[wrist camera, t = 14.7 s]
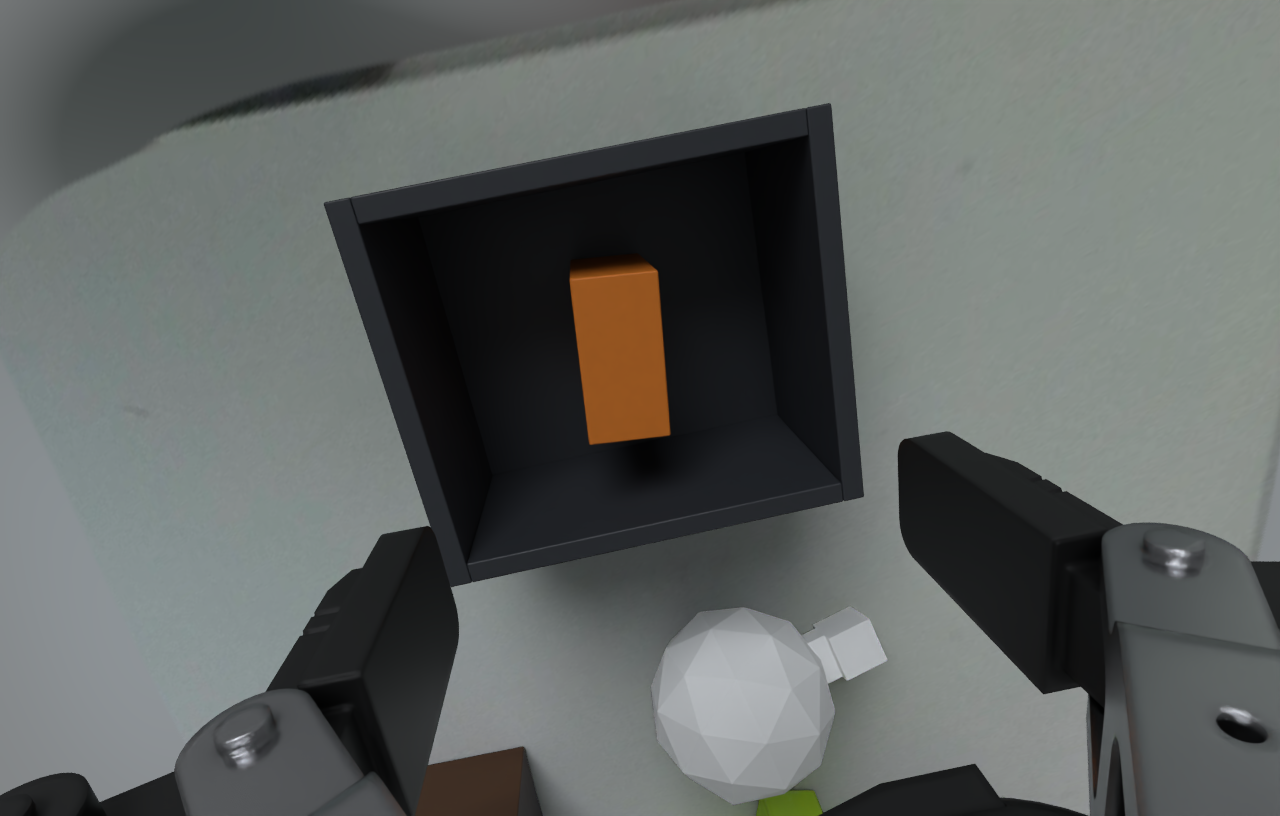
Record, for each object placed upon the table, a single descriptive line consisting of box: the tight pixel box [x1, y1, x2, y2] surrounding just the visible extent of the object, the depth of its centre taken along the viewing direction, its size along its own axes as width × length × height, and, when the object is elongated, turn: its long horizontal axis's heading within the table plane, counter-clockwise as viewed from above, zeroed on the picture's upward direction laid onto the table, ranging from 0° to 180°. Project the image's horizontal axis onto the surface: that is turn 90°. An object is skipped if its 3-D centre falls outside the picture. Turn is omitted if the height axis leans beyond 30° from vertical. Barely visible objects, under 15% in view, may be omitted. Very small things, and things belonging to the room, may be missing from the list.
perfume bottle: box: [651, 606, 888, 805], centre depth 32 cm, size 9×9×12 cm
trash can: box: [324, 103, 864, 587], centre depth 26 cm, size 16×14×9 cm
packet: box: [570, 253, 671, 445], centre depth 26 cm, size 6×3×7 cm, turn 5°
